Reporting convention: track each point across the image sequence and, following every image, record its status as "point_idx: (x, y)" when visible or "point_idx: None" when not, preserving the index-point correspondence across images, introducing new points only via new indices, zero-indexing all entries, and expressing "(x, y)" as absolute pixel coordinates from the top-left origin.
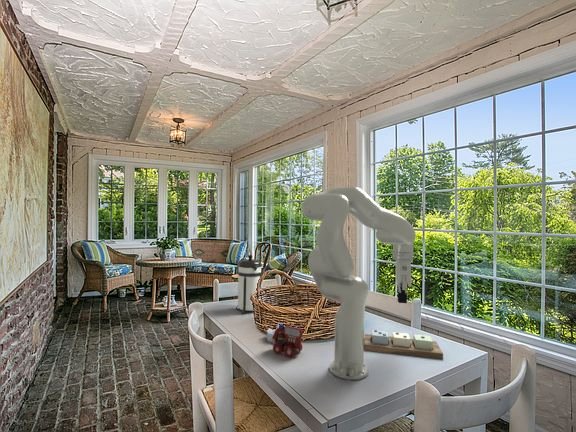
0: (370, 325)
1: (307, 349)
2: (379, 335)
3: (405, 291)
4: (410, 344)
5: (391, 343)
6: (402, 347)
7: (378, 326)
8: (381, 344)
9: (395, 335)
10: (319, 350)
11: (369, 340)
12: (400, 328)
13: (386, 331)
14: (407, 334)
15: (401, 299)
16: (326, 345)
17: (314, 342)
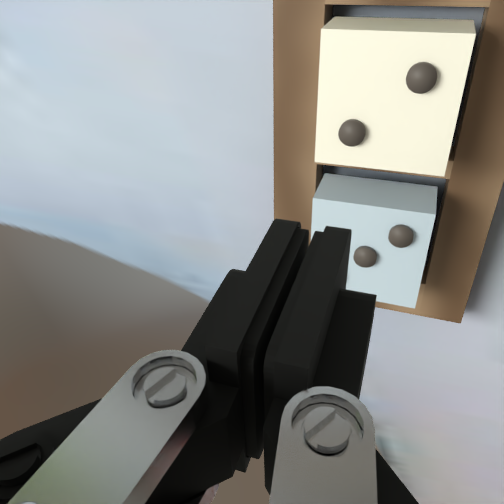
0: (63, 203)
1: (478, 499)
2: (416, 268)
3: (373, 474)
4: (409, 5)
5: None
6: (493, 90)
7: (53, 161)
8: (443, 229)
9: (395, 154)
10: (486, 469)
11: None
12: (8, 16)
13: (314, 204)
14: (347, 40)
15: (366, 354)
16: (419, 435)
17: (390, 464)
